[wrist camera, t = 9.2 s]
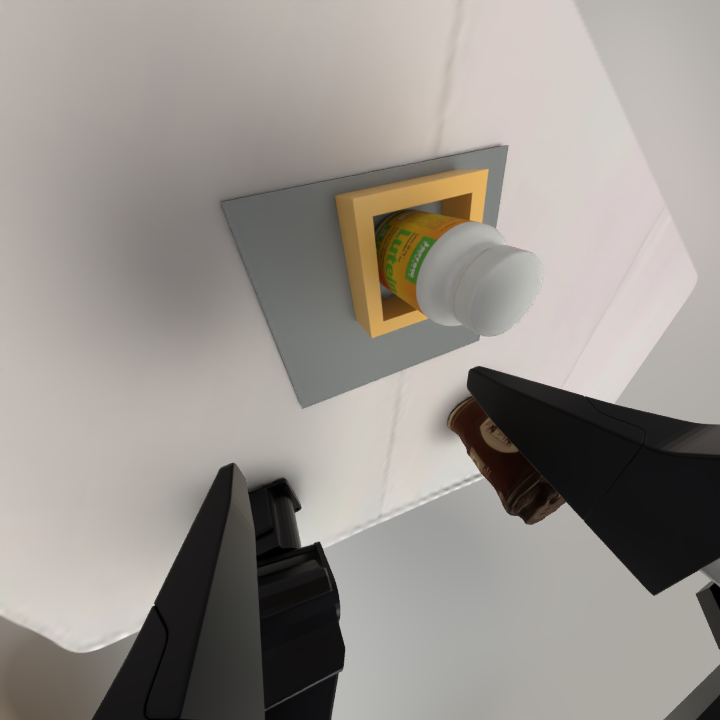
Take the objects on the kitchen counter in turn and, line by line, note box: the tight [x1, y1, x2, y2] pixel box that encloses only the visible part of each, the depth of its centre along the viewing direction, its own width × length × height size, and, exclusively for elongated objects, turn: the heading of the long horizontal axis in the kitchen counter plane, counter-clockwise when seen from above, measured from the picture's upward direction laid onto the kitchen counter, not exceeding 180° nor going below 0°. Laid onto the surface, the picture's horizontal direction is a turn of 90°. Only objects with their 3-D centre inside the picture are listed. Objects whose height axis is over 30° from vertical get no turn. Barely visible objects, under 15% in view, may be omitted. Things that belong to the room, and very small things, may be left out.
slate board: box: [221, 145, 508, 409], centre depth 21 cm, size 16×19×1 cm
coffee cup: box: [448, 397, 566, 525], centre depth 31 cm, size 9×8×13 cm
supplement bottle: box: [375, 210, 543, 337], centre depth 16 cm, size 5×5×10 cm
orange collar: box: [335, 169, 489, 338], centre depth 18 cm, size 8×8×3 cm
